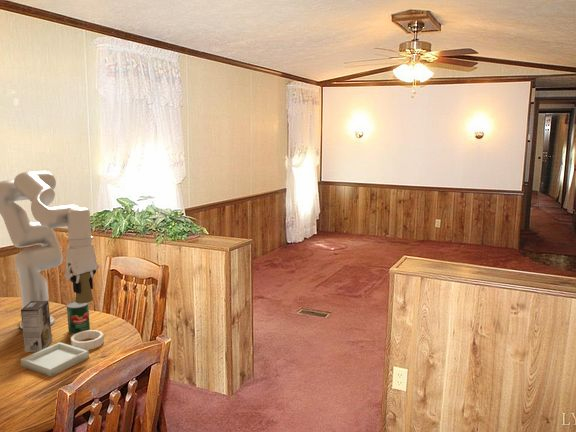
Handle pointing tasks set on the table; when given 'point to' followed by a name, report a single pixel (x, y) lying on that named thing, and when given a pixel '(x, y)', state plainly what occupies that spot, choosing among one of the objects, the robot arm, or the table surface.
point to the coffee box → (36, 326)
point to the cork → (84, 289)
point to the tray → (54, 359)
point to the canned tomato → (78, 317)
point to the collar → (88, 334)
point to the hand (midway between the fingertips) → (83, 290)
